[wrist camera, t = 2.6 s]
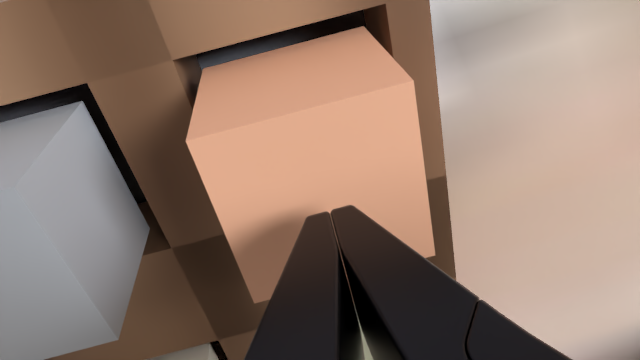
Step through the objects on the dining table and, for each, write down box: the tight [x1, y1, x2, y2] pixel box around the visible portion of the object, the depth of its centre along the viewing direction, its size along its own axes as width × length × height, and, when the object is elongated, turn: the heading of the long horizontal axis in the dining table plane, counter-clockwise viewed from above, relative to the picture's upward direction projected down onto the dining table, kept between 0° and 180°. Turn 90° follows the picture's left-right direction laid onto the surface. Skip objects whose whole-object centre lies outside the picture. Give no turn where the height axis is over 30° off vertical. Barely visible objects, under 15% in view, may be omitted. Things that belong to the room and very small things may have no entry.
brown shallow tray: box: [0, 0, 456, 360], centre depth 16 cm, size 14×18×3 cm
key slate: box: [0, 101, 150, 360], centre depth 11 cm, size 4×4×4 cm
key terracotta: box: [186, 26, 435, 303], centre depth 11 cm, size 4×4×4 cm
